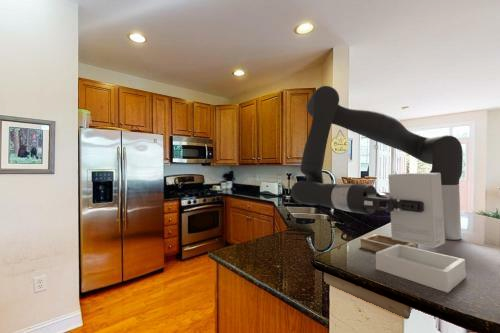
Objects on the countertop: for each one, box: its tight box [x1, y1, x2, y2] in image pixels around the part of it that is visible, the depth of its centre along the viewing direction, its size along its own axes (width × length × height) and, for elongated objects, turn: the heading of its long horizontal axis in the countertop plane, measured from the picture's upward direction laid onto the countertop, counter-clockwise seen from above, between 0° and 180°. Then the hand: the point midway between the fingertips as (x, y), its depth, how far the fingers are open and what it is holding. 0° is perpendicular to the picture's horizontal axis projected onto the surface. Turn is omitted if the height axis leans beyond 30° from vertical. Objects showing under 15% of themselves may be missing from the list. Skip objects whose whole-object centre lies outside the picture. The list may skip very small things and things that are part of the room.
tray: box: [375, 244, 467, 294], centre depth 49 cm, size 11×13×4 cm
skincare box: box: [388, 172, 446, 249], centre depth 50 cm, size 8×6×15 cm
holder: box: [359, 233, 419, 253], centre depth 64 cm, size 9×11×2 cm
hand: (429, 205), depth 48 cm, fingers closed on skincare box, 6 cm apart
